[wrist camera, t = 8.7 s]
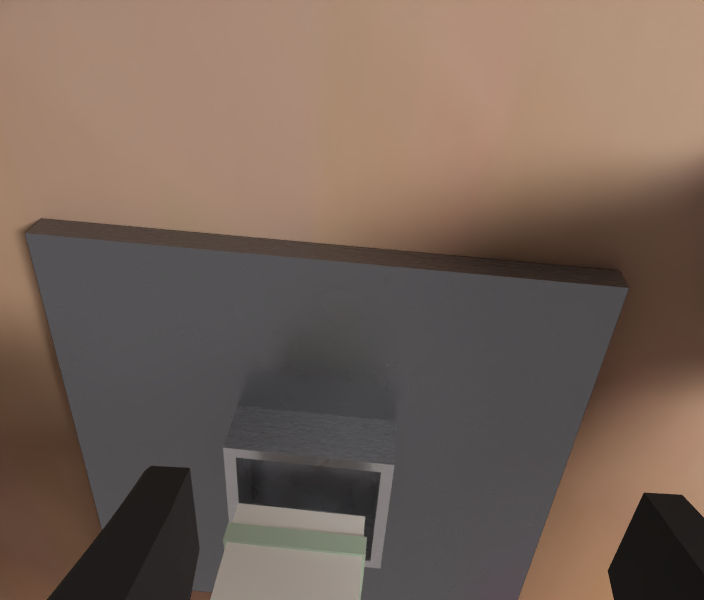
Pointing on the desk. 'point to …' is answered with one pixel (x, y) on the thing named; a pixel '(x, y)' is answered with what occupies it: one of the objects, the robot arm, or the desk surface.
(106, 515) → the stand
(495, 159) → the desk surface
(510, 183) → the desk surface
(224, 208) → the desk surface
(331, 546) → the post
